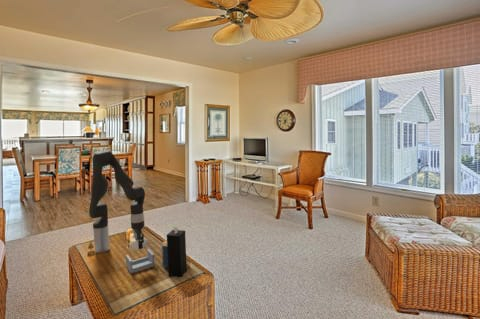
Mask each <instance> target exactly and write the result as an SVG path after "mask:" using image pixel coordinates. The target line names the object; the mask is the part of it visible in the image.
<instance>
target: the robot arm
mask: <svg viewBox="0 0 480 319" xmlns="http://www.w3.org/2000/svg"><path fill="white" fill-rule="evenodd" d="M107 166H111V167H112V168H113V171H114V178H115V181H116V182H117V184H118V185H119V186H120V187H121V188H122V191H123V192H124V194H125V196H126V198H127V199H128V200H129V201H133V203H131V205H130V206H129V207H130V228H131V230H133V238H134V241H135V240H138V246H139V249H138V250H143V249H144V248H143V245H142V243H143V242H144V238H145V237H144V233H143V230H142V229H144V228H145V214H144V204H145V203H144V202H145V198H146V197H145V196H146V192H145V189H144V188H143V187H142V186H136V187H133V186H134V181H133V179H132V178H130V176H129V175H128V174H127V173H126V172H125V171H124V169H123V168H122V166H121V164H120V162H119V161H118V159H117V158H116V156H115V155H114V154H113V152H112V151H110V150H104V151H99V152H96V153H94V154H93V156H92V179H91V180H92V181H91V182H92V183H91V197H90V202H89V208H88V215H89V217H90V218H91V219H97V218H99V219H98V220H96V221H95V222H93V223H92V228H93V240H94V241H93V243H94V244H93V245H94V251H95V253H99V254H100V253H105V252H108V251H109V250H110V248H111V247H110V235H109V234H110V233H109V217H108V216H109V214H108V210H109V209H108V205H107V203H106V202H105V203H104V202H103V203H99V202H100V201H101V199H103V198H104V196H105V195H106V194H107V192H108V187H109V181H108V179H107V178H106V176H105V175H104V174H103V168H104V167H107ZM140 240H141V241H140Z"/></svg>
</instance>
